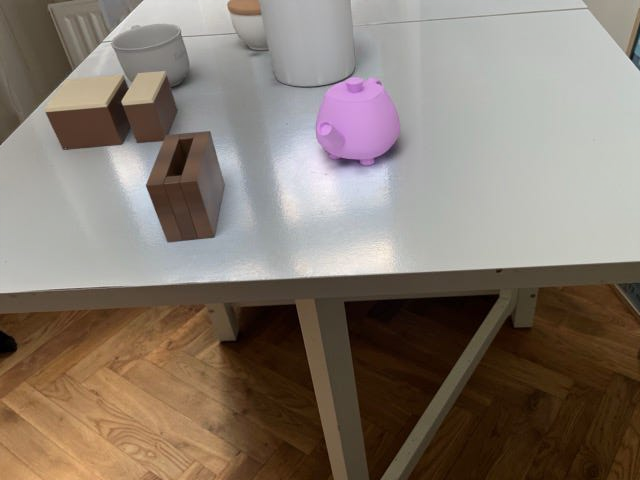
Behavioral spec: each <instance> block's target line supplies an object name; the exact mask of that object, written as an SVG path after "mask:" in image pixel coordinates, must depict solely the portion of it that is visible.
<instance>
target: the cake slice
mask: <svg viewBox="0 0 640 480" xmlns="http://www.w3.org/2000/svg"><path fill="white" fill-rule="evenodd" d="M128 88H129V89H128V91H127V93H126V94H125V96H124V98H123V99H122V101H121V102H122V105H123V107H124V110H125V113H126V115H127V118H128V121H129V123H130V126H131V128H130V129H131V131H132V134H133V136H134V137H133V138H134V139H135V142H136V144H140V143H150V142H151V143H152V142H161V141H162V142H163V141H164V138H165V136H166V135H169V133H170V131H171V128H172V126H173V124H174V120H175V118H176V115H177V112H178V107H177V103H176V100H175V96H174V94H173V91H172V87H170V84H169V81H168V77H167V74H166V71H159V72H147V73H138V74H137V76H136V77H135V79H134V81H133V82H131V84H130V86H128Z"/></svg>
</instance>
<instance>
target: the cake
mask: <svg viewBox="0 0 640 480" xmlns="http://www.w3.org/2000/svg"><path fill="white" fill-rule="evenodd" d="M128 89H129V86H128V83H127V80H126V78H125V74H115V75H112V74H111V75H101V76H90V77H79V78H78V77H77V78H76V77H75V78H68V79H66V80H65V81H64V83H63V84H62V85H61V86H60V87H59V88H58V90H57V91H56V92H55V94H54V95H53V96H52V97H51V98H50V100H48V101H47V103H46V104H45V105H44V107H43V110H44V112H45V115H46V117H47V119H48V122H49V124H50V125H51V128H52V130H53V131H54V134H55V136H56V138H57V140H58V142H59V145H60V146H61V149H62V150H63V151H64V150H68V149H67V148H71V149H70V150H74V149H75V150H76V149H85V148H87V149H88V148H96V147H97V148H98V147H108V146H119V145H123V143H124V141H125V139H126V137H127V135H128V133H129V131H130V129H131V126H130V123H129V121H128V118H127V115H126V113H125V110H124V107H123V105H122V102H121V101H122V99H123V98H124V96H125V94H126V93H127V91H128ZM65 148H66V149H65Z"/></svg>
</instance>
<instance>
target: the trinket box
mask: <svg viewBox="0 0 640 480" xmlns="http://www.w3.org/2000/svg"><path fill="white" fill-rule="evenodd" d="M226 6H227V10H228V13H229V17H230V20H231V24H232V26H233V29H234V31H235V33H236V35H237V36H238V38H239V40H240V41H242V42H243V43H244V44H245V45H247V46H248V48H249V49H251V50H253V51H269V48H268V43H267V39H266V34H265V29H264V24H263V19H262V14H261V10H260V5H259V0H229V1H228V2H227V4H226Z"/></svg>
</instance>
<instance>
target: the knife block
mask: <svg viewBox="0 0 640 480" xmlns="http://www.w3.org/2000/svg"><path fill="white" fill-rule="evenodd" d="M225 185H226V184H225V180H224V176H223V172H222V169H221V166H220V161H219V158H218V154H217V150H216V147H215V143H214V139H213V136H212V132H211V131H210V130H206V131H205V130H204V131H196V132H195V131H194V132H183V133H172V134H168V135H166V136H165V138H164V141H162V144H161V146H160V148H159V151H158V154H157V156H156V159H155V161H154V163H153V166H152V169H151V171H150V174H149V176H148V178H147V181H146V184H145V187H146V190H147V193H148V196H149V198H150V200H151V204H152V207H153V209H154V211H155V214H156V216H157V219H158V222H159V224H160V227H161V230H162V233H163V235H164V237H165V240H166V242H167V243H172V242H183V241H189V240H190V241H192V240H198V239H199V240H200V239H210V238H215V235H216V229H217V225H218V220H219V216H220V214H219V213H220V210H221V205H222V200H223V194H224V189H225Z"/></svg>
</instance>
